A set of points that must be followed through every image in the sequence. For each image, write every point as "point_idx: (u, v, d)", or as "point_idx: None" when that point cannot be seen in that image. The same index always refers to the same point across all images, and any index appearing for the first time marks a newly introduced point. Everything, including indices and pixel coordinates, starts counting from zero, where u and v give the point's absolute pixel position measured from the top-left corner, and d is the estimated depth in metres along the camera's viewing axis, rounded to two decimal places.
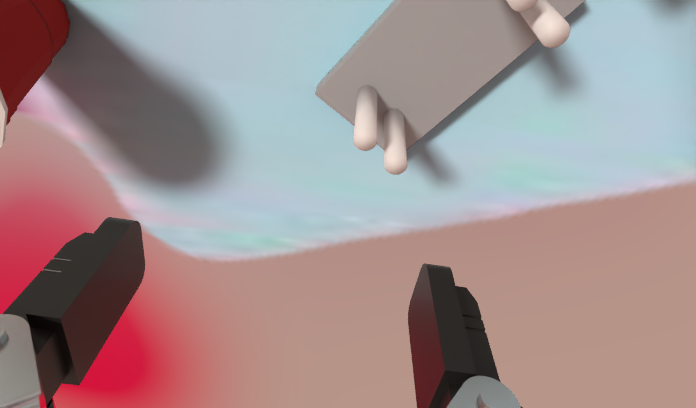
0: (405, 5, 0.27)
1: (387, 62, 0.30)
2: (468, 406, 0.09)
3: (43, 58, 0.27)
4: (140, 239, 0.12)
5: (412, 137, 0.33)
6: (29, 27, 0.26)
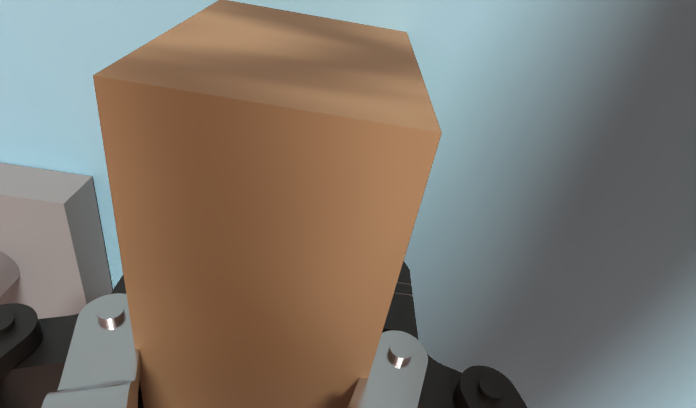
0: None
1: None
2: (381, 362, 0.09)
3: None
4: None
5: None
6: None
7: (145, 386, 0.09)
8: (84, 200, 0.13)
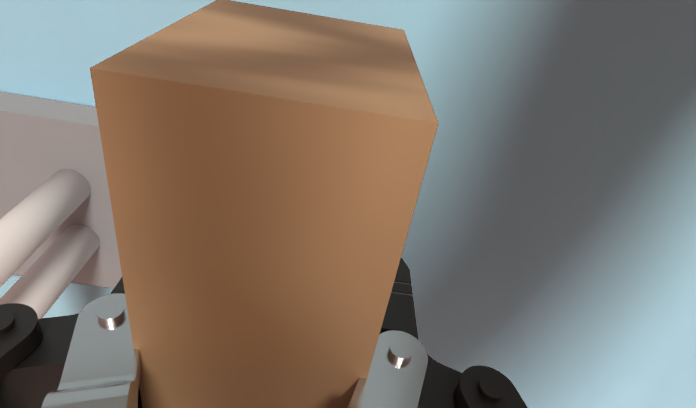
0: None
1: None
2: (381, 362, 0.09)
3: None
4: None
5: None
6: None
7: (144, 385, 0.09)
8: None
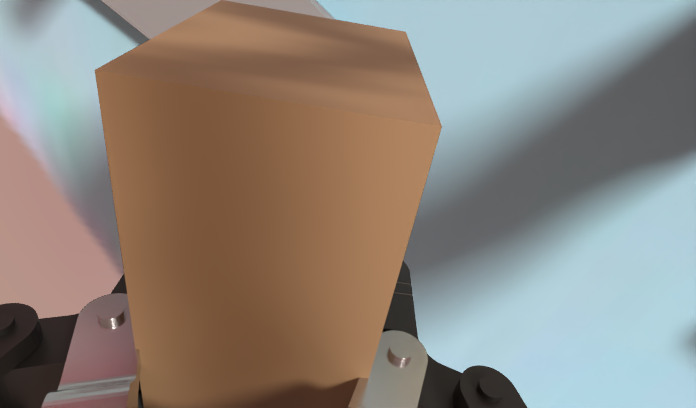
0: None
1: None
2: (381, 362, 0.09)
3: None
4: None
5: None
6: None
7: (145, 386, 0.09)
8: None
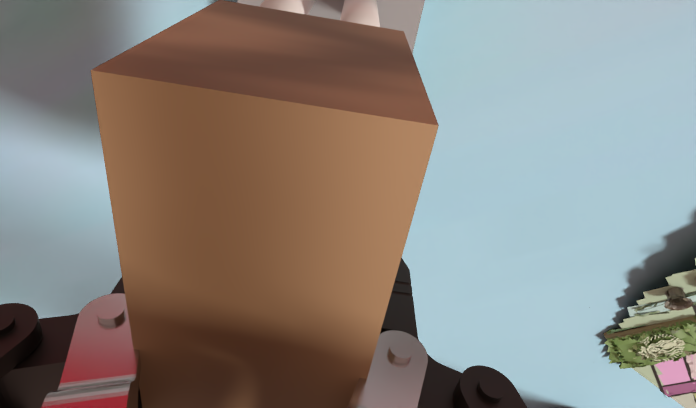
0: None
1: None
2: (381, 362, 0.09)
3: None
4: None
5: None
6: None
7: (144, 386, 0.09)
8: None
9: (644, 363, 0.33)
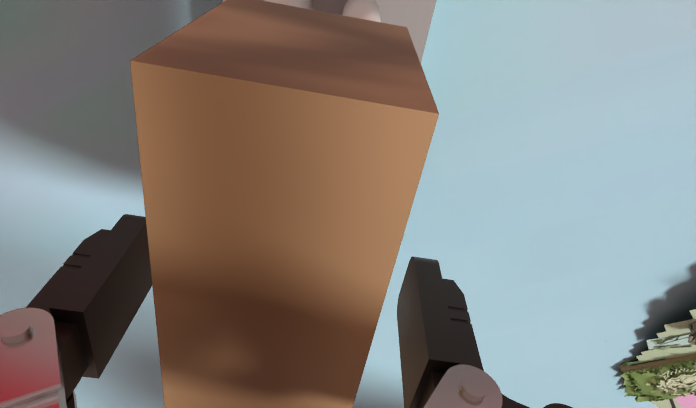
0: None
1: None
2: (451, 395, 0.09)
3: None
4: None
5: None
6: None
7: (164, 354, 0.10)
8: None
9: (662, 397, 0.31)
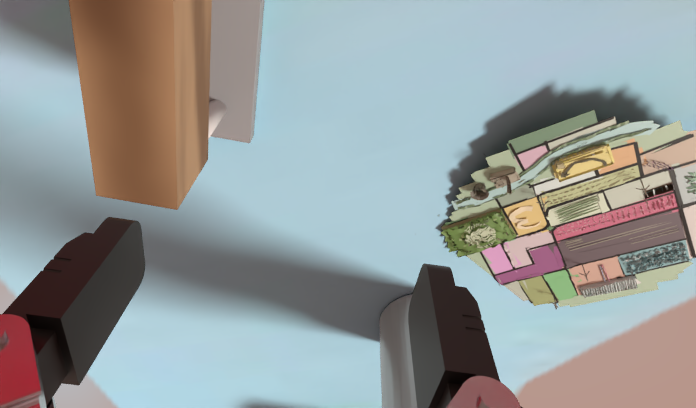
0: (251, 49, 0.32)
1: None
2: (468, 406, 0.09)
3: None
4: (140, 239, 0.12)
5: None
6: None
7: (82, 84, 0.22)
8: None
9: (473, 251, 0.43)
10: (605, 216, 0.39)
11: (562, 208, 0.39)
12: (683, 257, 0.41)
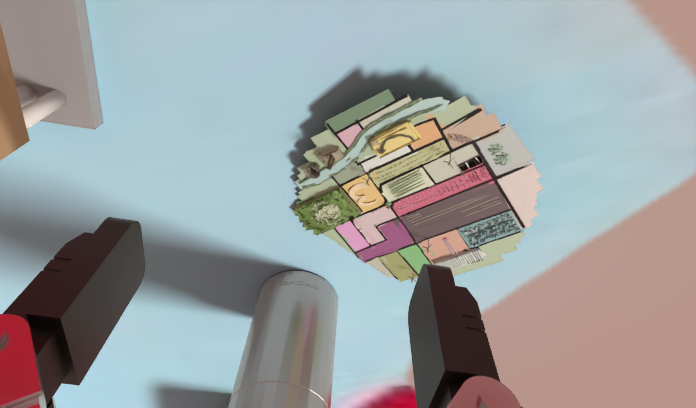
0: (76, 41, 0.36)
1: None
2: (468, 406, 0.09)
3: None
4: (140, 239, 0.12)
5: None
6: None
7: None
8: None
9: (326, 228, 0.46)
10: (433, 190, 0.42)
11: (392, 184, 0.42)
12: (514, 228, 0.43)
